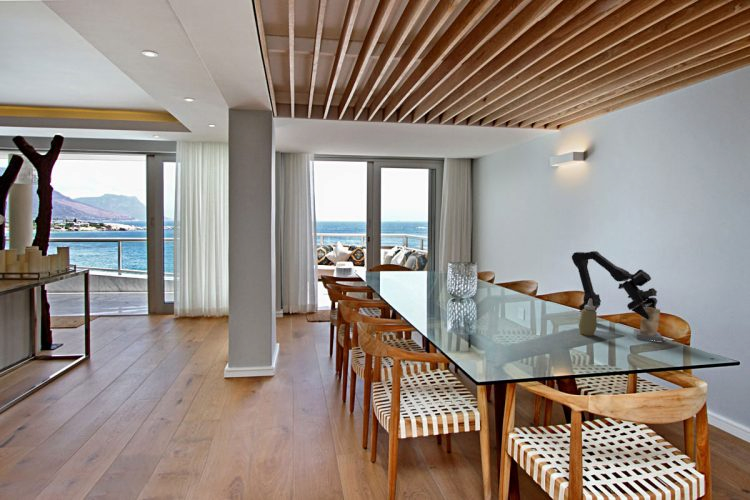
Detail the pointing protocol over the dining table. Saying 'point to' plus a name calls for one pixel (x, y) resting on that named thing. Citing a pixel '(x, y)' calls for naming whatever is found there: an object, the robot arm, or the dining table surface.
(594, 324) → the squeeze bottle
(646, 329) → the oak block
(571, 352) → the dining table surface
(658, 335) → the slate base
